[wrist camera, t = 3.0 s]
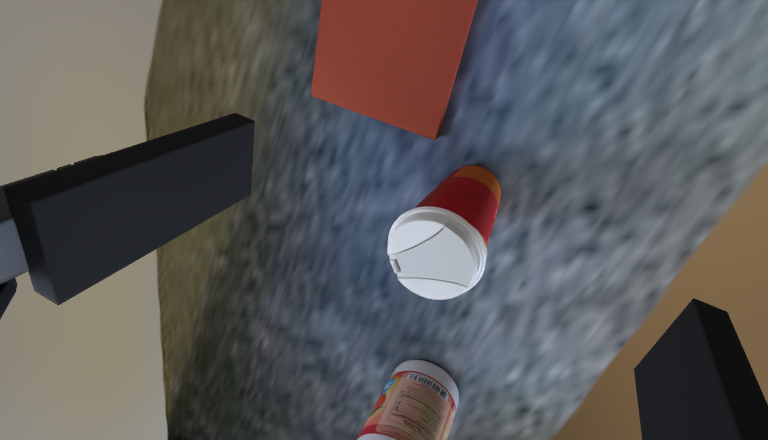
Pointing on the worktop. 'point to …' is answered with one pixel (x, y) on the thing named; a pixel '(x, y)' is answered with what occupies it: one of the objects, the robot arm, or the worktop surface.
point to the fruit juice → (414, 405)
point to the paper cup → (446, 235)
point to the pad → (392, 58)
